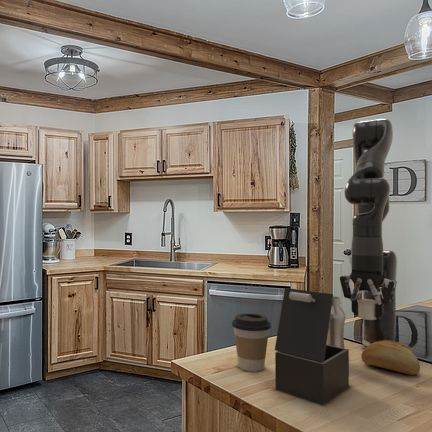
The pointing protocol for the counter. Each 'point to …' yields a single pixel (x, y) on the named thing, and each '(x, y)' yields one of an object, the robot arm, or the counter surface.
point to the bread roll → (391, 356)
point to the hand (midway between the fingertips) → (367, 316)
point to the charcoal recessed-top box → (313, 374)
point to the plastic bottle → (336, 325)
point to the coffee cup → (251, 340)
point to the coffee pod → (367, 309)
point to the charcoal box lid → (304, 323)
